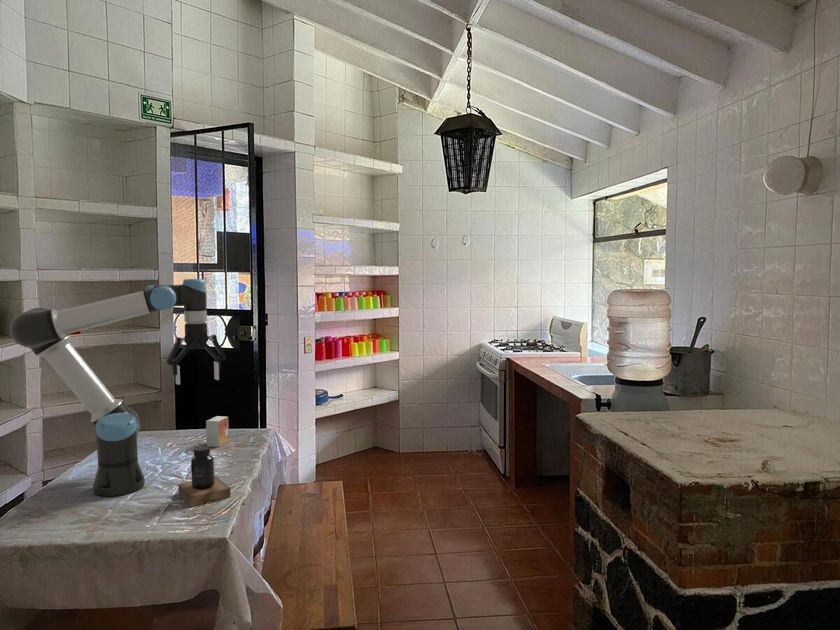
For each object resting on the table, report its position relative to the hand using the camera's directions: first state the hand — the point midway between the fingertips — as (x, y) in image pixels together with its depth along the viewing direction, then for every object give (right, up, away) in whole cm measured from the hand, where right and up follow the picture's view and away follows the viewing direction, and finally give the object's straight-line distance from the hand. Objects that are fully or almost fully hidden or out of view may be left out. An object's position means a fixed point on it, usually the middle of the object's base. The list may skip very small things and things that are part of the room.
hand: (197, 381), depth 216 cm
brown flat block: (+11, -33, -25) cm, 43 cm away
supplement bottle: (+11, -30, -25) cm, 41 cm away
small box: (-2, -29, +29) cm, 40 cm away
